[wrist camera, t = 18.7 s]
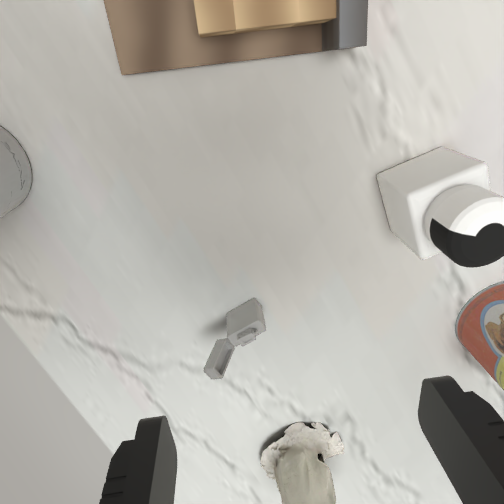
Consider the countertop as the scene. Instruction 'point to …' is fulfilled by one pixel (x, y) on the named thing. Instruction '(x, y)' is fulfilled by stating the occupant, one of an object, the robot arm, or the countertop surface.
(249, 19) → the socket block
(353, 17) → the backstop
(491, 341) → the canned food
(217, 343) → the lighter
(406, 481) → the countertop surface
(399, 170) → the medicine bottle
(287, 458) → the mushroom
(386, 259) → the countertop surface
